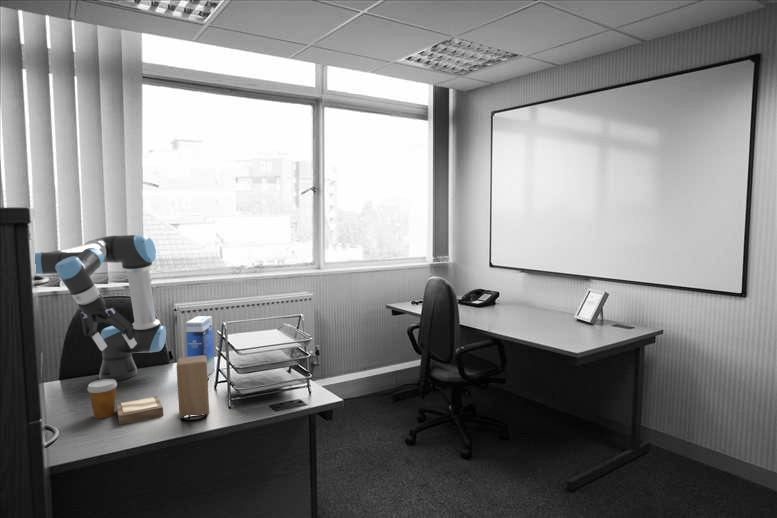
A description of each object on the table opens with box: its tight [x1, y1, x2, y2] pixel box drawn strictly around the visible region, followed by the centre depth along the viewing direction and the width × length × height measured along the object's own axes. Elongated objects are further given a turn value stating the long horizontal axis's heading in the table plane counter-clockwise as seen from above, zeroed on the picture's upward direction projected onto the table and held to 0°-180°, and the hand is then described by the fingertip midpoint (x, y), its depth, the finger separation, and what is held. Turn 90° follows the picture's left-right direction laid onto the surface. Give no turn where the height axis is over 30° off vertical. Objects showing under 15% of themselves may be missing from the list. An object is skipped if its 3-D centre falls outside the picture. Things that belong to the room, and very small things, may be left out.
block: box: [176, 355, 210, 419], centre depth 181 cm, size 10×10×20 cm
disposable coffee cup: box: [86, 379, 118, 419], centre depth 181 cm, size 10×10×12 cm
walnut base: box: [115, 395, 164, 425], centre depth 182 cm, size 14×14×3 cm
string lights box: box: [185, 315, 216, 377], centre depth 225 cm, size 13×8×26 cm, turn 0°
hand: (119, 347), depth 181 cm, fingers open, 13 cm apart
